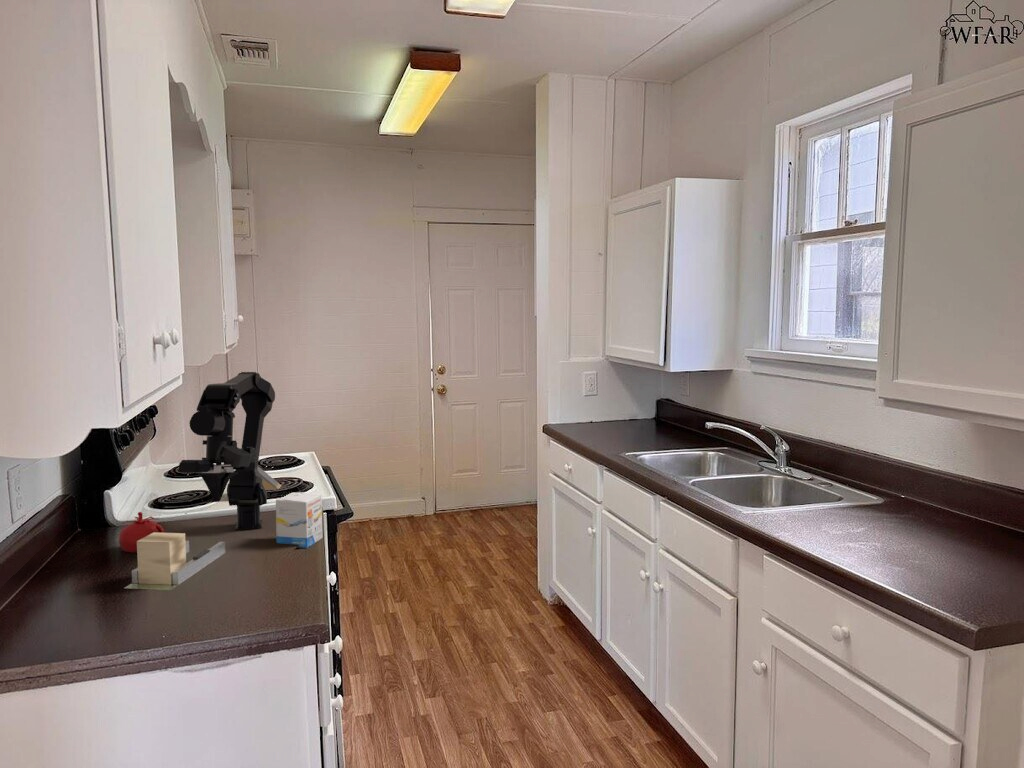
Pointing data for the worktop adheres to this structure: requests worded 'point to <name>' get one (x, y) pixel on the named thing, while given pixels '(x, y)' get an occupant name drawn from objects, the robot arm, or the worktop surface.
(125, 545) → the pomegranate
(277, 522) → the ink box
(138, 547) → the block
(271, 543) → the worktop surface
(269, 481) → the sandwich container
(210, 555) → the chute
